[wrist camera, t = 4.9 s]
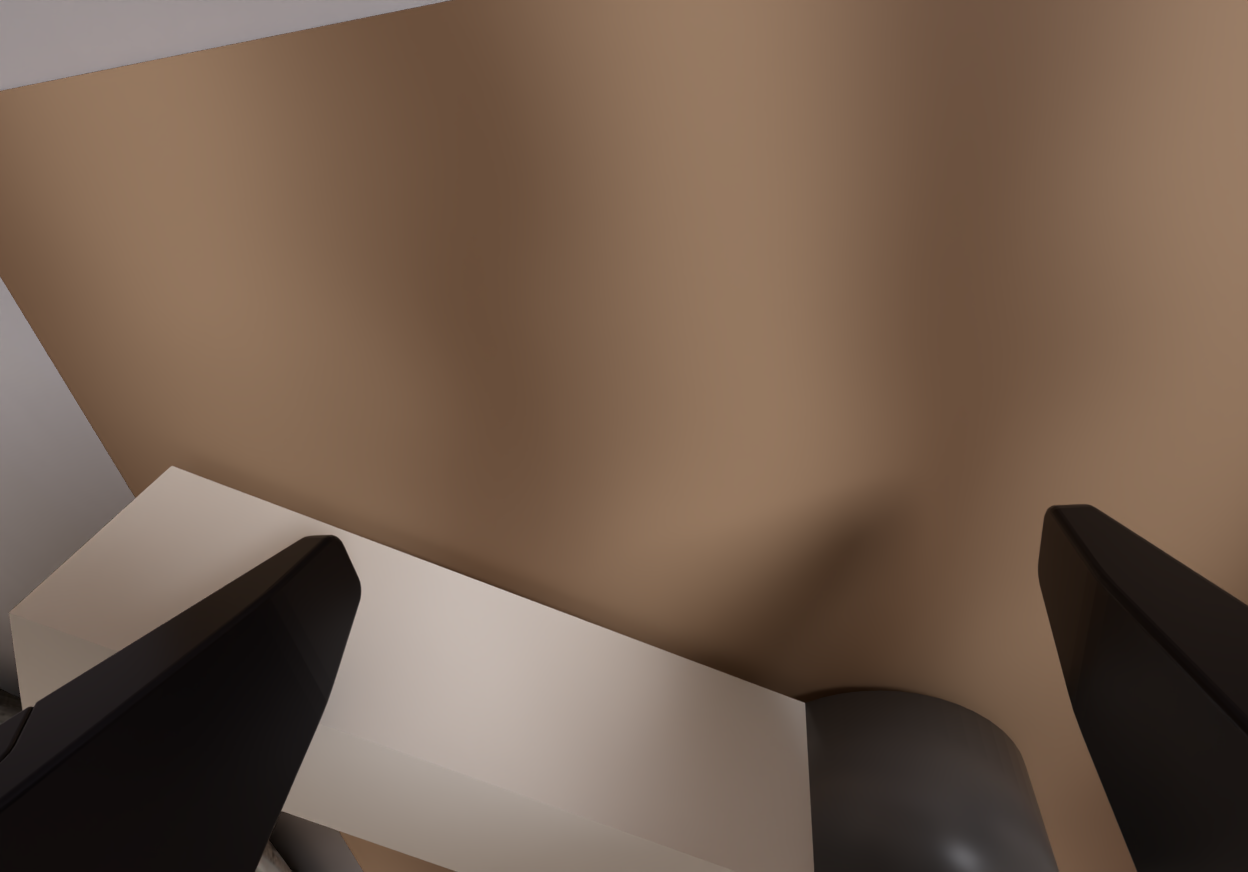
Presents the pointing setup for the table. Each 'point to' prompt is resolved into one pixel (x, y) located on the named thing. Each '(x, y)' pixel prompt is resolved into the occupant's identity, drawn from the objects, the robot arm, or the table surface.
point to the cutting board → (686, 314)
